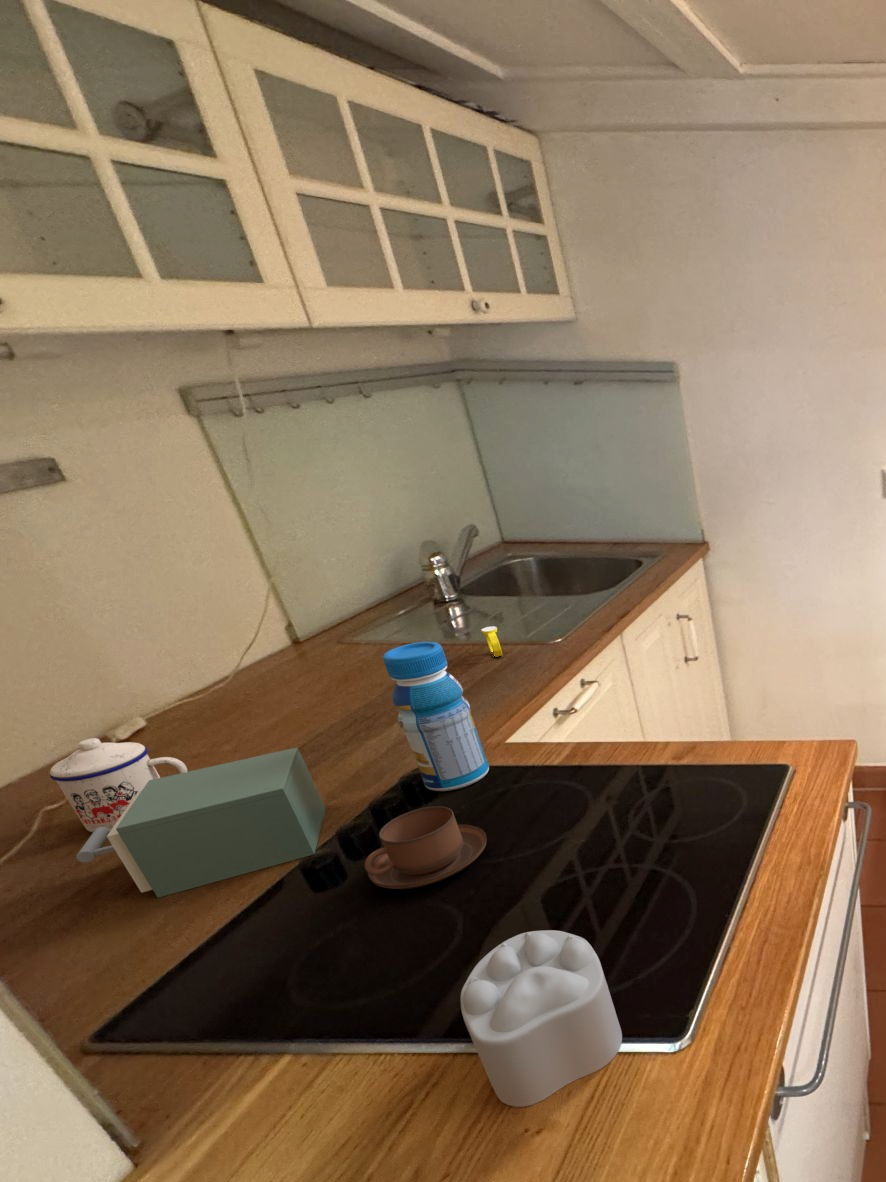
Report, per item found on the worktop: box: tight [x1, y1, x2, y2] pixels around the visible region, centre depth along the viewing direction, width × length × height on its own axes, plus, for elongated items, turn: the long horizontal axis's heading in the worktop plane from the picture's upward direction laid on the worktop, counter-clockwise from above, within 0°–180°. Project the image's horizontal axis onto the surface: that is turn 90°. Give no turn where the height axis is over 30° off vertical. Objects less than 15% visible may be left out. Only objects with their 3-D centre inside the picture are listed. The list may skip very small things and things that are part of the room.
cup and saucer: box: [364, 805, 487, 890], centre depth 90 cm, size 12×12×6 cm
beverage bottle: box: [382, 641, 490, 792], centre depth 107 cm, size 8×8×20 cm
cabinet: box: [116, 747, 327, 899], centre depth 94 cm, size 15×13×10 cm
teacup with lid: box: [49, 737, 189, 833], centre depth 103 cm, size 12×9×12 cm
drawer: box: [75, 791, 153, 894], centre depth 93 cm, size 18×11×8 cm, turn 122°
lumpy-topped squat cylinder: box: [459, 929, 623, 1108], centre depth 66 cm, size 10×13×9 cm
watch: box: [480, 625, 503, 657], centre depth 155 cm, size 6×3×6 cm, turn 40°
